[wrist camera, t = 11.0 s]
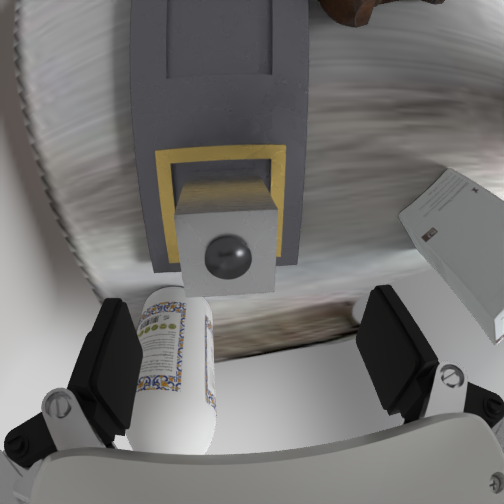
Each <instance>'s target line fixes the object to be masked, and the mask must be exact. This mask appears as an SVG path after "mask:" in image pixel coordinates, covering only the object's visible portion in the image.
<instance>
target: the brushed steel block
mask: <svg viewBox="0 0 504 504" xmlns="http://www.w3.org/2000/svg"><path fill="white" fill-rule="evenodd" d="M174 221H175V229H176V237H177V244H178V251H179V258H180V265H181V271H182V278H183V284H184V290H185V296H186V298H190V297H209V296H226V295H241V294H255V293H268V292H274V286H275V267H276V247H277V225H278V208H277V206H276V205H275V203H274V201H273V199H272V197H271V195H270V193H269V191H268V189H267V187H266V186H265V184H264V182H263V180H262V178H261V176H260V174H259V172H258V171H257V169H233V170H212V171H196V172H188V173H187V176H186V179H185V182H184V185H183V188H182V191H181V194H180V197H179V200H178V203H177V207H176V210H175V213H174Z"/></svg>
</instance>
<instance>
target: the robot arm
mask: <svg viewBox="0 0 504 504" xmlns="http://www.w3.org/2000/svg"><path fill="white" fill-rule="evenodd" d="M356 344H357V347H358V349H359V351H360V354H361V356H362V358H363V361H364V363H365V365H366V368H367V370H368V372H369V375H370V377H371V380H372V382H373V385H374V387H375V390H376V392H377V395H378V397H379V400H380V402H381V405H382V407H383V409H384V410H387V412H388V414H389V416H390V415H393V414H396V413H401V416H402V420H401V422H400V425H399V426H397V427H393V428H390V429H386V430H383V431H379V432H376V433H372V434H368V435H364V436H360V437H356V438H352V439H347V440H343V441H338V442H333V443H328V444H322V445H317V446H311V447H304V448H298V449H290V450H282V451H274V452H264V453H250V454H231V455H230V454H229V455H185V454H166V453H151V452H140V451H130V450H121V449H117V447H116V445H115V444H114V442H113V441H114V439H115V435H121V436H125V431H126V429H129V428H130V424H131V418H132V412H133V406H134V401H135V395H136V390H137V384H138V379H139V374H140V369H141V364H142V360H143V349H142V346H141V344H140V341H139V338H138V336H137V333H136V330H135V327H134V325H133V322H132V319H131V316H130V313H129V310H128V307H127V304H126V303H125V302H122V300H121V299H120V298H106V299H105V300H104V302H103V305H102V307H101V309H100V311H99V314H98V316H97V319H96V321H95V323H94V326H93V328H92V331H90V332H89V333H88V334H87V336H86V338H85V341H84V343H83V346H82V348H81V351H80V354H79V356H78V359H77V362H76V364H75V367H74V370H73V372H72V375H71V378H70V381H69V384H68V387H67V389H65V388H56V389H54V390H51V391H50V392H49V393H47V395H46V396H45V397H44V399H43V401H42V407H41V409H42V412H41V413H39V414H37V415H36V416H34V417H32V418H31V419H29V420H27V421H26V422H24V423H22V424H21V425H19V426H17V427H16V428H14V429H13V430H11V431H10V432H9V433H8V434H7V436H6V437H5V441H4V449H5V450H4V451H3V452H2V451H1V450H0V504H504V402H503V400H502V399H501V397H500V396H499V395H497V394H496V393H493V392H491V391H488V390H486V389H484V388H481V387H479V386H477V385H474V384H472V383H470V382H468V377H467V374H466V371H465V370H464V368H463V367H462V366H460V365H459V364H458V363H455V362H452V361H445V362H443V363H441V364H440V363H439V362H438V358H437V356H436V354H435V353H434V351H433V350H432V348H431V346H430V345H429V343H428V341H427V340H426V338H425V336H424V335H423V333H422V331H421V330H420V328H419V327H418V325H417V324H416V322H415V321H414V319H413V317H412V316H411V314H410V313H409V311H408V310H407V308H406V307H405V305H404V304H403V302H402V301H401V300H400V298H399V296H398V295H397V294H396V292H395V291H394V289H393V288H392V286H391V285H379V286H376V287H375V288H374V290H372V291H371V292H370V296H369V299H368V302H367V305H366V309H365V312H364V315H363V318H362V321H361V324H360V327H359V330H358V333H357V336H356Z"/></svg>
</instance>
